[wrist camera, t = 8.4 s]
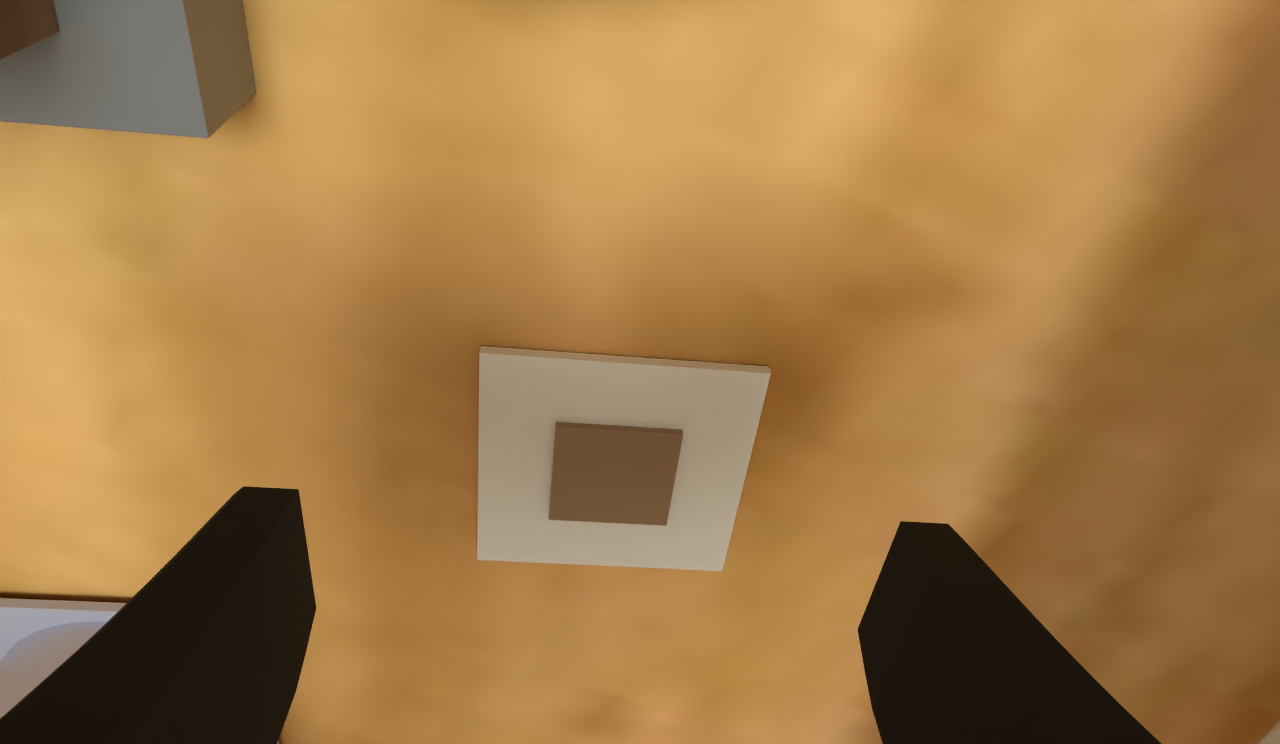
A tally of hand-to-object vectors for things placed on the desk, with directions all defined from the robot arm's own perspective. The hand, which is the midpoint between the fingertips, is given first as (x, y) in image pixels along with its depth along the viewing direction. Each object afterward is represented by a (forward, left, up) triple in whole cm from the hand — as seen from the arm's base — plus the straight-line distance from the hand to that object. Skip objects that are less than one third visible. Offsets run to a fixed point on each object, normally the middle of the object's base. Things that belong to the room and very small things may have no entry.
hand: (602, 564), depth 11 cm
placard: (-7, -1, -10) cm, 12 cm away
